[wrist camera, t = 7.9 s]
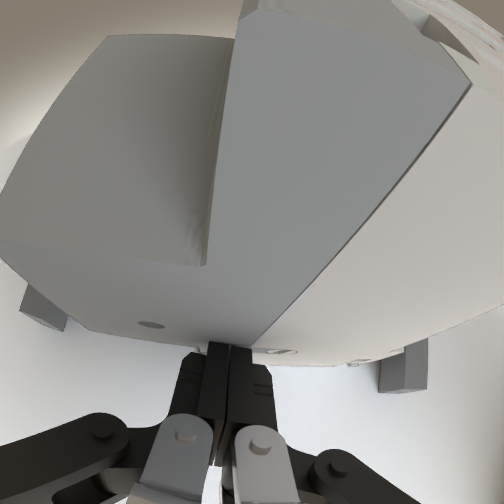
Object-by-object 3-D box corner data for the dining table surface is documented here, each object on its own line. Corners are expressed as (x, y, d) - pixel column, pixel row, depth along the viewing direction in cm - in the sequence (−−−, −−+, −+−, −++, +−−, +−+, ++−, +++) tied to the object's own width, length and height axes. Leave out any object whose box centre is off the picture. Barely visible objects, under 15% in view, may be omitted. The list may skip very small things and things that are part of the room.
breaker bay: (394, 204, 21) (445, 145, 15) (399, 393, 15) (485, 377, 9) (119, 141, 20) (106, 62, 14) (40, 323, 14) (-29, 277, 8)
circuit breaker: (112, 213, 17) (54, -54, 4) (348, 243, 19) (505, 37, 6) (82, 340, 14) (-155, 109, 1) (355, 366, 16) (634, 231, 2)
